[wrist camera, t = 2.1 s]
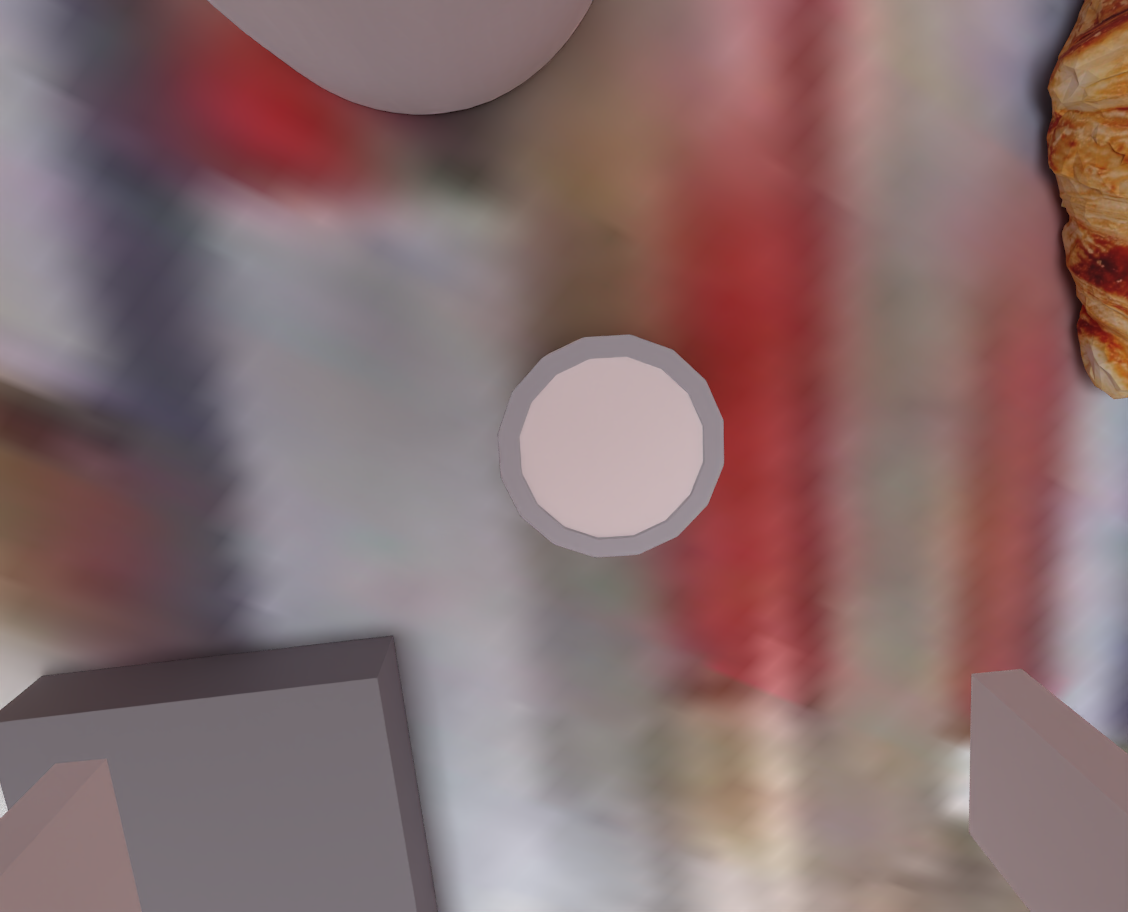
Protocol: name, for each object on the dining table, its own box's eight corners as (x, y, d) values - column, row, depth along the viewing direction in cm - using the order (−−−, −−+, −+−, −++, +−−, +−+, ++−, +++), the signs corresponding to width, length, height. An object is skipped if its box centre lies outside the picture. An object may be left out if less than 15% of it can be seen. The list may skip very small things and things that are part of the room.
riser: (47, 671, 33) (-17, 724, 29) (394, 630, 33) (377, 677, 29) (124, 962, 36) (75, 1045, 32) (442, 922, 36) (431, 1000, 32)
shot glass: (718, 429, 32) (771, 471, 25) (575, 533, 32) (588, 602, 25) (614, 283, 30) (638, 285, 23) (467, 394, 31) (449, 428, 24)
